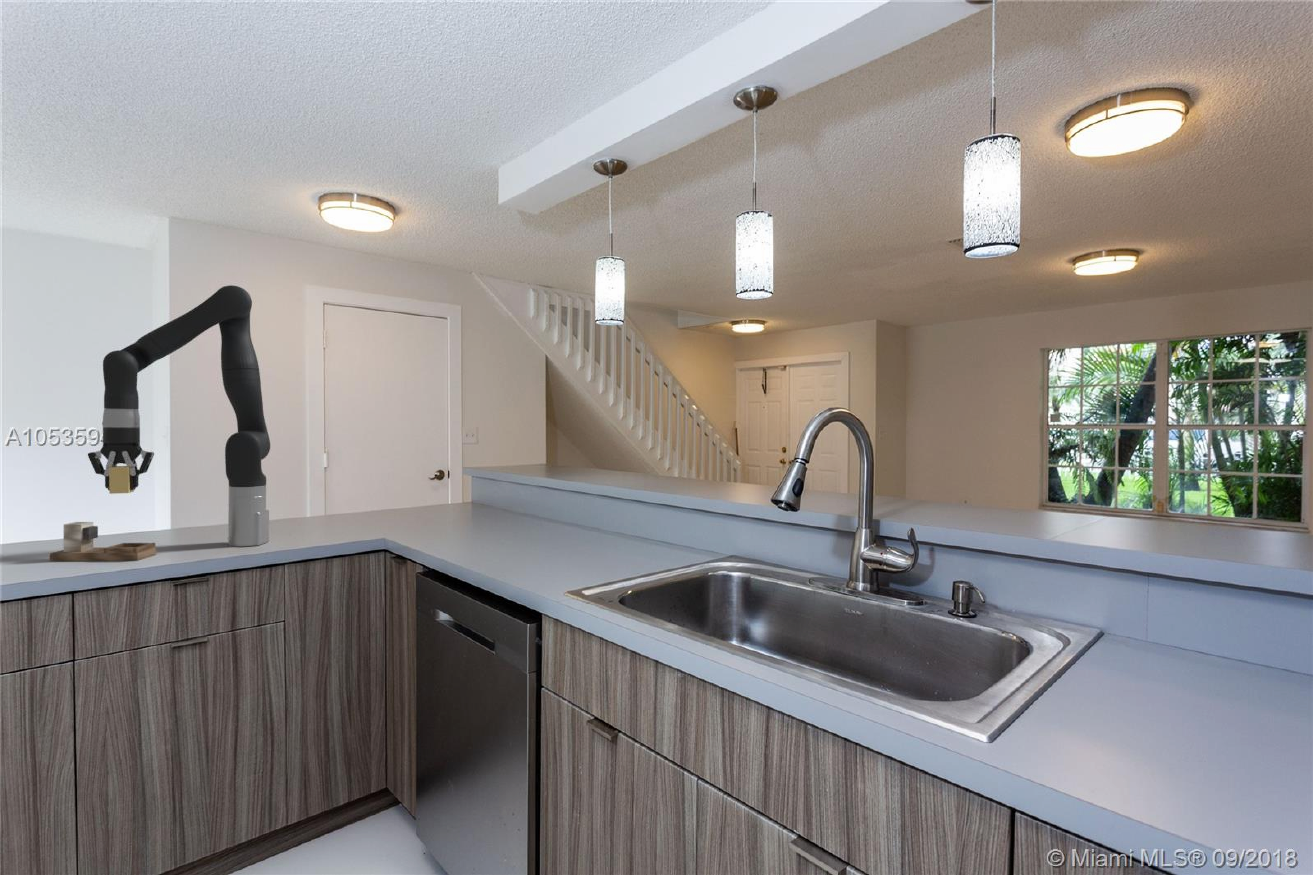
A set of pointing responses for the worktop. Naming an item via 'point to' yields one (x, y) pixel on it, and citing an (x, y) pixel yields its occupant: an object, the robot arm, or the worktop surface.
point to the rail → (81, 548)
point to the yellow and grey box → (119, 480)
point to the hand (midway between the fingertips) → (121, 489)
